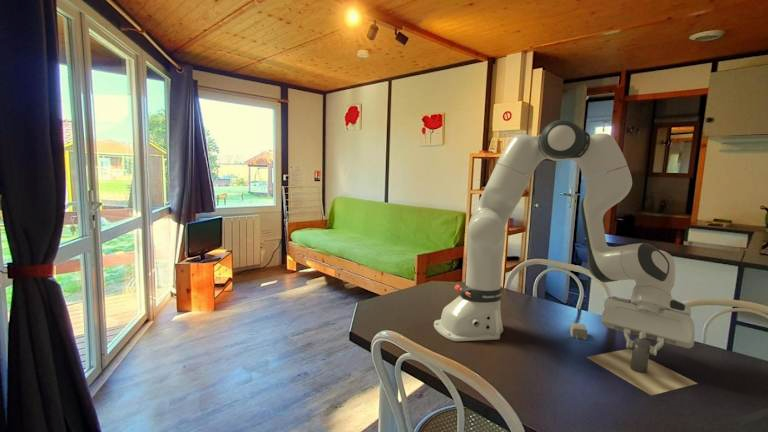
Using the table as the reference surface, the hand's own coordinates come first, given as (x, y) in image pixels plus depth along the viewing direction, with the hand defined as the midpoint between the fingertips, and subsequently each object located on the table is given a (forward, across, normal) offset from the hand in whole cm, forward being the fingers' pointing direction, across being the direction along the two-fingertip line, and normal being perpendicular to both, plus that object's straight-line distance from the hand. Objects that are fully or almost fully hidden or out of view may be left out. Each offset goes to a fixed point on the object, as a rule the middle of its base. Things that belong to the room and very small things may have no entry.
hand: (640, 350), depth 96 cm
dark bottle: (+3, 0, +4) cm, 5 cm away
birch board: (+4, 0, +5) cm, 6 cm away
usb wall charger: (-3, -16, +12) cm, 21 cm away
